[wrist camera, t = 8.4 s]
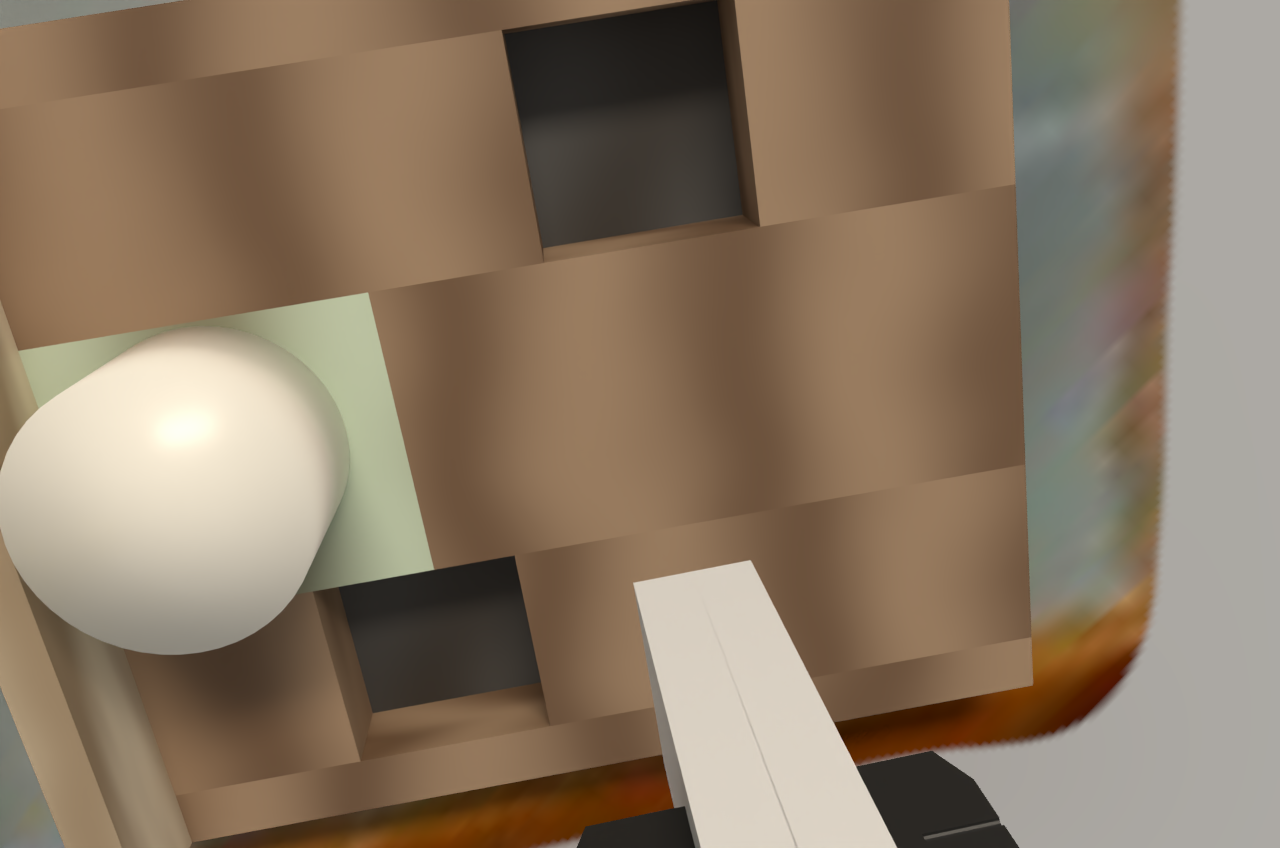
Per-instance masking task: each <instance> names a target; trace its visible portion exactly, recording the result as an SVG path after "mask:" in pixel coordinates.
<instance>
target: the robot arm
mask: <svg viewBox="0 0 1280 848" xmlns="http://www.w3.org/2000/svg"><path fill="white" fill-rule="evenodd" d="M633 585H634V590H635V596H636V602H637V608H638V614H639V620H640V626H641V631H642V637H643V643H644V649H645V655H646V661H647V666H648V672H649V678H650V684H651V690H652V696H653V702H654V707H655V713H656V719H657V725H658V731H659V737H660V743H661V748H662V754H663V760H664V766H665V770H666V774H667V778H668V783H669V787H670V791H671V796H672V800H673V804H674V808H673V809H668V810H663V811H659V812H654V813H649V814H644V815H639V816H635V817H630V818H625V819H620V820H616V821H611V822H606V823H601V824H596V825H592V826H587V827H585V830H584V832H583V834H582V837H581V839H580V841H579V844H578V846H577V848H1019V847H1018V845H1017V844H1016V842H1015V841H1014V839H1013V838H1012V836H1011V835H1010V833H1009V832H1008V830H1007V829H1006V827H1005V826H1004V825H1003V826H1002V825H1001V823H1000V821H999V817H998V815H997V814H996V812H995V811H994V809H993V808H992V806H991V805H990V803H989V802H988V800H987V799H986V797H985V796H984V794H983V793H982V791H981V790H980V788H979V787H978V785H977V784H976V782H975V781H974V779H972V778H971V777H969V776H968V775H966V774H965V773H964V772H962V771H961V770H959V769H958V768H956V767H955V766H953V765H952V764H950V763H949V762H947V761H946V760H945V759H943V758H942V757H940V756H939V755H937V754H936V753H934V752H933V751H929V752H924V753H920V754H915V755H910V756H905V757H900V758H896V759H891V760H886V761H881V762H876V763H872V764H867V765H862V766H857V767H856V766H855V764H854V762H853V760H852V758H851V756H850V754H849V752H848V750H847V748H846V746H845V744H844V742H843V740H842V739H841V737H840V735H839V733H838V731H837V729H836V727H835V725H834V723H833V721H832V719H831V717H830V715H829V713H828V711H827V709H826V707H825V705H824V703H823V701H822V699H821V697H820V695H819V693H818V691H817V689H816V687H815V685H814V684H813V682H812V680H811V678H810V676H809V674H808V672H807V670H806V668H805V666H804V664H803V662H802V660H801V658H800V656H799V654H798V652H797V650H796V648H795V646H794V644H793V642H792V640H791V638H790V636H789V634H788V632H787V630H786V629H785V627H784V625H783V623H782V621H781V619H780V617H779V615H778V613H777V611H776V609H775V607H774V605H773V603H772V601H771V599H770V597H769V595H768V593H767V591H766V589H765V587H764V585H763V583H762V581H761V579H760V577H759V575H758V573H757V572H756V570H755V568H754V566H753V564H752V562H751V560H748V561H743V562H738V563H733V564H728V565H723V566H717V567H712V568H707V569H702V570H697V571H692V572H687V573H681V574H676V575H671V576H666V577H661V578H656V579H650V580H645V581H640V582H635V583H633Z"/></svg>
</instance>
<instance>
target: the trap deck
mask: <svg viewBox="0 0 1280 848" xmlns="http://www.w3.org/2000/svg"><path fill="white" fill-rule="evenodd" d="M195 326H215V327H224V328H230V329H236V330H240V331H244V332H247V333H251V334H254V335H256V336H259V337H261V338H264V339H266V340H269V341H271V342H273V343H274V344H276V345H278V346H280V347H282V348H283V349H285V350H287V351H288V352H290V353H291V354H292V355H294V356H295V357H296V358H298V359H299V360H301V361H302V362H303V363H304V364H305V365H306V366H307V367H308V368H309V369H310V370H311V371H313V372H314V373H315V375H316V376H317V377H318V378H319V379H320V381H321V382H322V383H323V384H324V385H325V387H326V388H327V390H328V391H329V393H330V395H331V396H332V398H333V399H334V401H335V403H336V405H337V407H338V409H339V411H340V413H341V416H342V419H343V422H344V425H345V428H346V431H347V437H348V443H349V455H350V465H349V474H348V480H347V484H346V488H345V492H344V494H343V497H342V499H341V502H340V504H339V506H338V508H337V511H336V513H335V515H334V517H333V519H332V521H331V523H330V525H329V528H328V530H327V532H326V534H325V536H324V538H323V540H322V542H321V545H320V547H319V549H318V551H317V553H316V555H315V557H314V559H313V562H312V564H311V566H310V568H309V570H308V572H307V574H306V576H305V579H304V581H303V583H302V584H301V586H300V588H299V589H298V591H297V593H296V594H295V596H294V597H293V599H292V600H291V601H290V602H289V603H288V605H287V606H286V607H285V608H284V609H283V611H282V612H281V613H279V614H278V615H277V616H276V617H275V618H274V619H273V620H272V621H271V622H270V623H268V624H267V625H265V626H264V627H262V628H261V629H259V630H258V631H257V632H255V633H254V634H252V635H250V636H248V637H246V638H244V639H242V640H240V641H238V642H235V643H233V644H230V645H227V646H224V647H222V648H218V649H214V650H210V651H205V652H201V653H192V654H183V655H160V654H152V653H143V652H138V651H133V650H129V649H124V648H121V647H118V646H115V645H112V644H109V643H106V642H103V641H101V640H99V639H96V638H94V637H92V636H90V635H88V634H86V633H84V632H82V631H80V630H79V629H77V628H75V627H74V626H72V625H70V624H69V623H67V622H66V621H64V620H63V619H62V618H61V617H59V616H58V615H57V614H55V613H54V612H53V611H52V610H50V609H49V608H48V607H47V606H46V605H45V604H44V603H43V602H42V601H41V600H40V599H39V598H38V597H37V596H36V595H35V594H34V592H33V591H32V590H31V589H30V587H29V586H28V585H27V584H26V582H25V581H24V580H23V578H22V577H21V575H20V573H19V572H18V570H17V569H16V567H15V565H14V564H13V562H12V559H11V557H10V555H9V553H8V550H7V548H6V546H5V543H4V539H3V536H2V532H1V529H0V687H1V690H2V692H3V695H4V697H5V700H6V702H7V705H8V707H9V710H10V712H11V714H12V717H13V719H14V722H15V724H16V727H17V729H18V732H19V734H20V737H21V739H22V742H23V744H24V747H25V749H26V752H27V754H28V757H29V759H30V762H31V764H32V767H33V769H34V772H35V774H36V777H37V779H38V782H39V784H40V787H41V789H42V791H43V794H44V796H45V799H46V801H47V804H48V806H49V809H50V811H51V814H52V816H53V819H54V821H55V824H56V826H57V829H58V831H59V834H60V836H61V839H62V841H63V844H64V846H65V848H190V846H191V844H192V843H193V842H198V841H203V840H209V839H214V838H219V837H225V836H230V835H235V834H241V833H246V832H251V831H257V830H262V829H267V828H273V827H278V826H283V825H289V824H294V823H299V822H305V821H310V820H315V819H321V818H326V817H332V816H337V815H342V814H348V813H353V812H358V811H364V810H369V809H374V808H380V807H385V806H390V805H396V804H401V803H406V802H412V801H417V800H422V799H428V798H433V797H438V796H444V795H449V794H454V793H460V792H465V791H470V790H476V789H481V788H486V787H492V786H497V785H502V784H508V783H513V782H519V781H524V780H529V779H535V778H540V777H545V776H551V775H556V774H561V773H567V772H572V771H577V770H583V769H588V768H593V767H599V766H604V765H609V764H615V763H620V762H625V761H631V760H636V759H641V758H647V757H652V756H657V755H663V754H662V748H661V743H660V737H659V731H658V725H657V719H656V713H655V707H654V702H653V696H652V690H651V684H650V678H649V672H648V666H647V661H646V655H645V649H644V643H643V637H642V631H641V626H640V620H639V614H638V608H637V602H636V596H635V590H634V585H633V583H635V582H640V581H645V580H650V579H656V578H661V577H666V576H671V575H676V574H681V573H687V572H692V571H697V570H702V569H707V568H712V567H717V566H723V565H728V564H733V563H738V562H743V561H748V560H751V562H752V564H753V566H754V568H755V570H756V572H757V573H758V575H759V577H760V579H761V581H762V583H763V585H764V587H765V589H766V591H767V593H768V595H769V597H770V599H771V601H772V603H773V605H774V607H775V609H776V611H777V613H778V615H779V617H780V619H781V621H782V623H783V625H784V627H785V629H786V630H787V632H788V634H789V636H790V638H791V640H792V642H793V644H794V646H795V648H796V650H797V652H798V654H799V656H800V658H801V660H802V662H803V664H804V666H805V668H806V670H807V672H808V674H809V676H810V678H811V680H812V682H813V684H814V685H815V687H816V689H817V691H818V693H819V695H820V697H821V699H822V701H823V703H824V705H825V707H826V709H827V711H828V713H829V715H830V717H831V719H832V721H833V723H834V722H839V721H844V720H850V719H855V718H860V717H866V716H871V715H876V714H882V713H887V712H893V711H898V710H903V709H909V708H914V707H919V706H925V705H930V704H935V703H941V702H946V701H951V700H957V699H962V698H967V697H973V696H978V695H983V694H989V693H994V692H999V691H1005V690H1010V689H1015V688H1021V687H1026V686H1031V685H1033V671H1032V642H1031V614H1030V586H1029V557H1028V529H1027V500H1026V472H1025V443H1024V415H1023V386H1022V358H1021V329H1020V301H1019V272H1018V244H1017V216H1016V187H1015V159H1014V130H1013V102H1012V73H1011V45H1010V16H1009V0H184V1H177V2H171V3H164V4H158V5H151V6H145V7H139V8H132V9H126V10H119V11H113V12H106V13H100V14H93V15H87V16H80V17H74V18H68V19H61V20H55V21H48V22H42V23H35V24H29V25H22V26H16V27H9V28H3V29H0V471H1V468H2V465H3V462H4V459H5V456H6V453H7V451H8V449H9V447H10V446H11V444H12V442H13V440H14V438H15V436H16V435H17V433H18V432H19V431H20V429H21V428H22V427H23V425H24V424H25V423H26V421H27V420H28V419H29V418H30V417H31V416H32V415H33V414H34V413H35V412H36V411H37V410H38V409H39V408H40V407H42V406H43V405H45V404H46V403H47V402H49V401H50V400H51V399H53V398H54V397H55V396H57V395H58V394H60V393H61V392H63V391H64V390H66V389H68V388H69V387H71V386H72V385H74V384H75V383H77V382H78V381H80V380H81V379H83V378H84V377H86V376H87V375H89V374H91V373H92V372H94V371H95V370H97V369H98V368H100V367H101V366H103V365H104V364H106V363H107V362H109V361H110V360H112V359H113V358H115V357H117V356H118V355H120V354H121V353H123V352H124V351H126V350H127V349H129V348H130V347H132V346H133V345H135V344H137V343H139V342H141V341H143V340H145V339H147V338H149V337H151V336H154V335H157V334H159V333H162V332H165V331H169V330H174V329H178V328H184V327H195Z"/></svg>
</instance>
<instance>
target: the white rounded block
mask: <svg viewBox="0 0 1280 848" xmlns="http://www.w3.org/2000/svg"><path fill="white" fill-rule="evenodd" d="M349 465H350V455H349V443H348V437H347V431H346V428H345V425H344V422H343V419H342V416H341V413H340V411H339V409H338V407H337V405H336V403H335V401H334V399H333V398H332V396H331V395H330V393H329V391H328V390H327V388H326V387H325V385H324V384H323V383H322V382H321V381H320V379H319V378H318V377H317V376H316V375H315V373H314V372H313V371H311V370H310V369H309V368H308V367H307V366H306V365H305V364H304V363H303V362H302V361H301V360H299V359H298V358H296V357H295V356H294V355H292V354H291V353H290V352H288V351H287V350H285V349H283V348H282V347H280V346H278V345H276V344H274V343H273V342H271V341H269V340H266V339H264V338H261V337H259V336H256V335H254V334H251V333H247V332H244V331H240V330H236V329H230V328H224V327H215V326H195V327H184V328H178V329H174V330H169V331H165V332H162V333H159V334H157V335H154V336H151V337H149V338H147V339H145V340H143V341H141V342H139V343H137V344H135V345H133V346H132V347H130V348H129V349H127V350H126V351H124V352H123V353H121V354H120V355H118V356H117V357H115V358H113V359H112V360H110V361H109V362H107V363H106V364H104V365H103V366H101V367H100V368H98V369H97V370H95V371H94V372H92V373H91V374H89V375H87V376H86V377H84V378H83V379H81V380H80V381H78V382H77V383H75V384H74V385H72V386H71V387H69V388H68V389H66V390H64V391H63V392H61V393H60V394H58V395H57V396H55V397H54V398H53V399H51V400H50V401H49V402H47V403H46V404H45V405H43V406H42V407H40V408H39V409H38V410H37V411H36V412H35V413H34V414H33V415H32V416H31V417H30V418H29V419H28V420H27V421H26V423H25V424H24V425H23V427H22V428H21V429H20V431H19V432H18V433H17V435H16V436H15V438H14V440H13V442H12V444H11V446H10V447H9V449H8V451H7V453H6V456H5V459H4V462H3V465H2V468H1V471H0V529H1V532H2V536H3V539H4V543H5V546H6V548H7V550H8V553H9V555H10V557H11V559H12V562H13V564H14V565H15V567H16V569H17V570H18V572H19V573H20V575H21V577H22V578H23V580H24V581H25V582H26V584H27V585H28V586H29V587H30V589H31V590H32V591H33V592H34V594H35V595H36V596H37V597H38V598H39V599H40V600H41V601H42V602H43V603H44V604H45V605H46V606H47V607H48V608H49V609H50V610H52V611H53V612H54V613H55V614H57V615H58V616H59V617H61V618H62V619H63V620H64V621H66V622H67V623H69V624H70V625H72V626H74V627H75V628H77V629H79V630H80V631H82V632H84V633H86V634H88V635H90V636H92V637H94V638H96V639H99V640H101V641H103V642H106V643H109V644H112V645H115V646H118V647H121V648H124V649H129V650H133V651H138V652H143V653H152V654H160V655H183V654H192V653H201V652H205V651H210V650H214V649H218V648H222V647H224V646H227V645H230V644H233V643H235V642H238V641H240V640H242V639H244V638H246V637H248V636H250V635H252V634H254V633H255V632H257V631H258V630H259V629H261V628H262V627H264V626H265V625H267V624H268V623H270V622H271V621H272V620H273V619H274V618H275V617H276V616H277V615H278V614H279V613H281V612H282V611H283V609H284V608H285V607H286V606H287V605H288V603H289V602H290V601H291V600H292V599H293V597H294V596H295V594H296V593H297V591H298V589H299V588H300V586H301V584H302V583H303V581H304V579H305V576H306V574H307V572H308V570H309V568H310V566H311V564H312V562H313V559H314V557H315V555H316V553H317V551H318V549H319V547H320V545H321V542H322V540H323V538H324V536H325V534H326V532H327V530H328V528H329V525H330V523H331V521H332V519H333V517H334V515H335V513H336V511H337V508H338V506H339V504H340V502H341V499H342V497H343V494H344V492H345V488H346V484H347V480H348V474H349Z"/></svg>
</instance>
